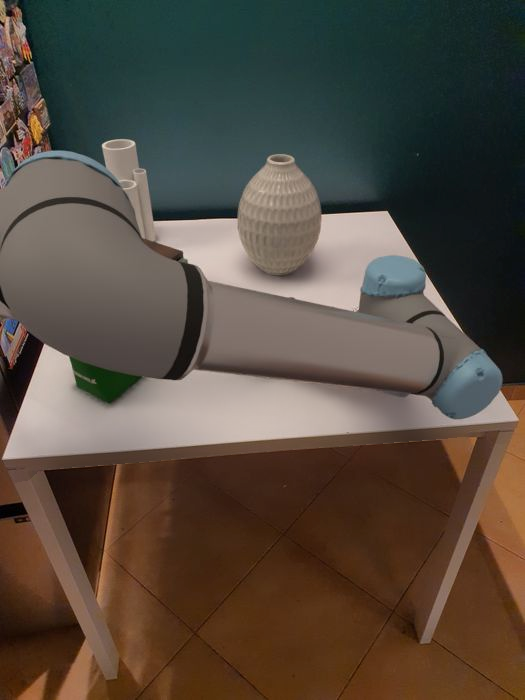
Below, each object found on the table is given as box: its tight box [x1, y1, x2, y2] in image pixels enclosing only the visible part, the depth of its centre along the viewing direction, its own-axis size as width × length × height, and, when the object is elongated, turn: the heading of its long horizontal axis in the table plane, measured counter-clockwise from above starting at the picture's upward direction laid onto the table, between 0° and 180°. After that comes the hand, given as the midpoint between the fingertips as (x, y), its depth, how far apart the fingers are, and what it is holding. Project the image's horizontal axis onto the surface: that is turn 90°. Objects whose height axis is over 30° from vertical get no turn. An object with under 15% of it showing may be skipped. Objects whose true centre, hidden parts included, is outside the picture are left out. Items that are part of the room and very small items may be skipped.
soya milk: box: [68, 356, 143, 405], centre depth 73 cm, size 9×9×20 cm
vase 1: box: [101, 138, 157, 242], centre depth 110 cm, size 11×7×20 cm, turn 27°
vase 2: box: [236, 153, 323, 276], centre depth 99 cm, size 16×16×22 cm
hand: (191, 293), depth 87 cm, fingers closed
